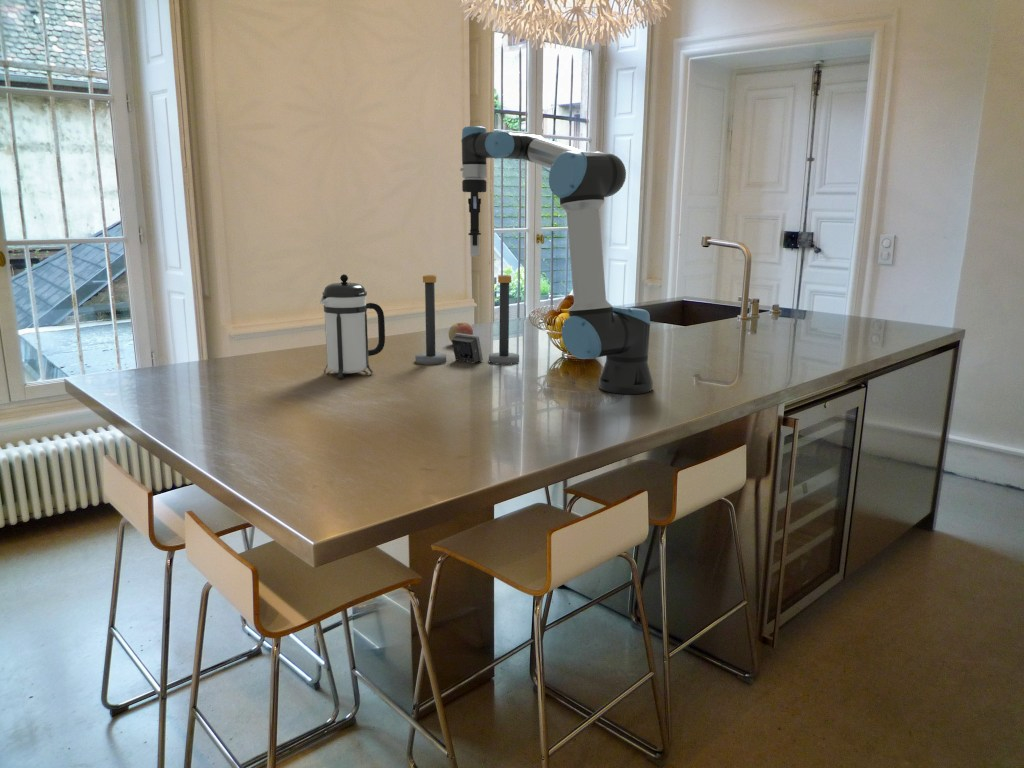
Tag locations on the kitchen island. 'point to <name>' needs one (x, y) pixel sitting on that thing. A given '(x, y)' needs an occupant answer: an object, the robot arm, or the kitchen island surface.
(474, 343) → the electrical switch
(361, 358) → the coffee press
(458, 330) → the apple
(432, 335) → the post
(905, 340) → the kitchen island surface
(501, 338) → the post
